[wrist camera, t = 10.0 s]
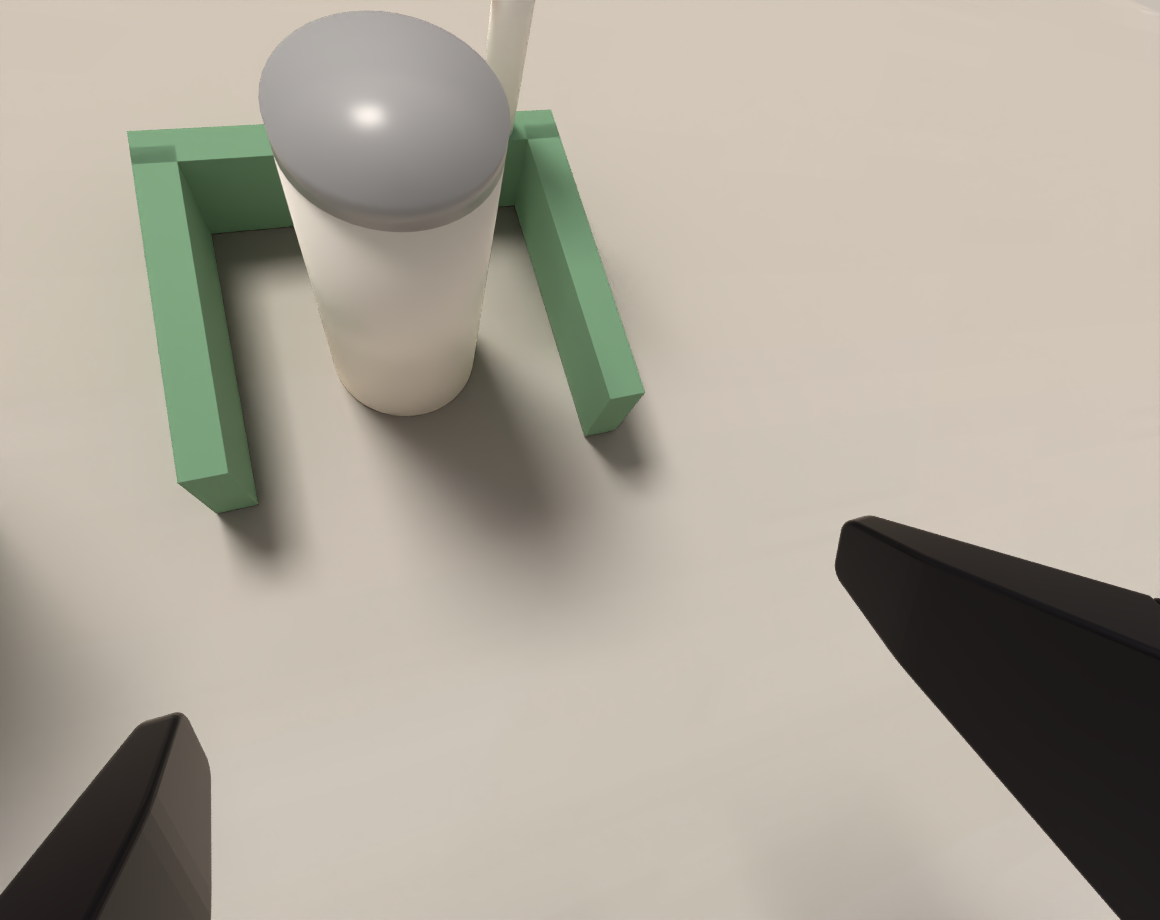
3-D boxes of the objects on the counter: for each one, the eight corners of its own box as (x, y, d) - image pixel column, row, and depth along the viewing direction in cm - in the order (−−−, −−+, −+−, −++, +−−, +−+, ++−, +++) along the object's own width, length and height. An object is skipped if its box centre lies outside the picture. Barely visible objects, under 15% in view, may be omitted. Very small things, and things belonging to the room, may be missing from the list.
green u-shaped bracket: (615, 430, 24) (745, 266, 14) (216, 513, 20) (28, 365, 11) (534, 177, 27) (600, -104, 17) (168, 208, 23) (-17, -136, 13)
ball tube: (474, 299, 25) (510, 33, 14) (472, 419, 23) (510, 220, 13) (339, 287, 23) (273, -9, 13) (327, 412, 22) (243, 187, 12)
